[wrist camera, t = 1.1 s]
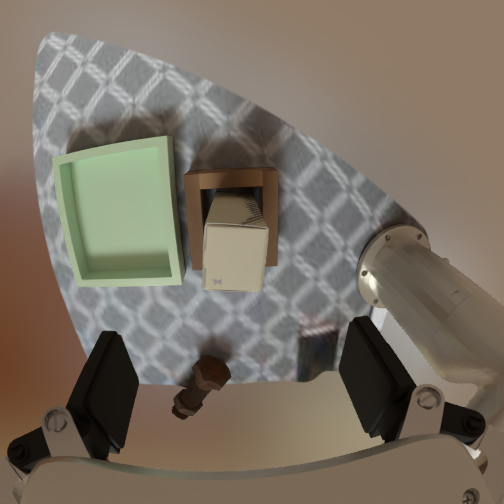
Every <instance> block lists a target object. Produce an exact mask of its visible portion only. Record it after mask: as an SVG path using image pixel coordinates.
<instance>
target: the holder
mask: <svg viewBox="0 0 504 504" xmlns="http://www.w3.org/2000/svg"><path fill="white" fill-rule="evenodd" d="M257 186H259V209H260V211H261V213H262V216H263V218H264V220H265V222H266V224H267V226H268V229H269V233H268V246H267V255H266V264H265V267H266V266H277V258H278V170H276V169H274V168H273V167H264V168H232V169H213V170H198V171H188V172H187V173H186V174H184V189H185V202H186V213H187V224H188V234H189V243H190V252H191V261H192V269H193V270H203V240H204V226H205V222H206V218H205V203H204V189H212V188H231V187H257Z"/></svg>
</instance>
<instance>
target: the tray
mask: <svg viewBox="0 0 504 504" xmlns="http://www.w3.org/2000/svg"><path fill="white" fill-rule="evenodd" d="M52 163H53V172H54V181H55V188H56V195H57V202H58V208H59V213H60V219H61V224H62V229H63V233H64V238H65V242H66V246H67V250H68V254H69V258H70V262H71V266H72V269H73V273H74V276H75V279H76V283H77V286H78V287H121V286H162V285H182V283H183V280H184V277H185V273H186V272H185V264H184V257H183V249H182V240H181V231H180V222H179V212H178V202H177V190H176V177H175V163H174V145H173V136H160V137H153V138H146V139H139V140H132V141H126V142H121V143H115V144H110V145H105V146H100V147H95V148H90V149H86V150H81V151H77V152H73V153H69V154H65V155H61V156H57V157H54V158H52Z"/></svg>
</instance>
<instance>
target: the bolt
mask: <svg viewBox="0 0 504 504" xmlns="http://www.w3.org/2000/svg"><path fill="white" fill-rule="evenodd" d="M192 370H193V372H194V374H195V378H194V379H193V381H192V382H191V383H190V384H189V386H188V387H187V389H183V390H181V391H180V392H179V393H178V394H177V395H176V396H175V397H174V399H173V400H174V404H175V405H174V406H173V407H172V408H173V409H172V413H173V414H174V415H175V416H177V417H178V418H180V419H182V420H184V419H186V418H187V417H188V416H193V415H194V414H195V413H196V412H197V411H198V410H199V409H200V408H201V407H202V406H203V403H202V401H203V399H204V398H205V397H206V396H207V394H208V393H209V392H210V391H211V390H212V389H215V390H218V391H219V390H220V389H221V388H222V387H223V386H224V385H225V384H226V382H227V381H228V380H229V379H230V378H231V373H230V370H229V368H228V367H227V365H226V364H225V363H224V362H223V361H221V360H220V359H218V358H215V357H212V356H206V355H205V356H203V357H202V358H201V359H199V360H198V361H197V362H196V363H195V364H194V366H193V367H192Z"/></svg>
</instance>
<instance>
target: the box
mask: <svg viewBox="0 0 504 504" xmlns="http://www.w3.org/2000/svg"><path fill="white" fill-rule="evenodd" d="M268 233H269V229H268V226H267V224H266V222H265V220H264V218H263V216H262V213H261V211H260V209H259V206H258V204H257V202H256V200H255V198H254V195H250V194H241V193H226V192H217V193H215V196H214V199H213V202H212V204H211V207H210V210H209V213H208V216H207V219H206V222H205V226H204V240H203V289H204V290H212V291H232V292H260V291H261V289H262V284H263V278H264V271H265V264H266V255H267V246H268Z"/></svg>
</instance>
